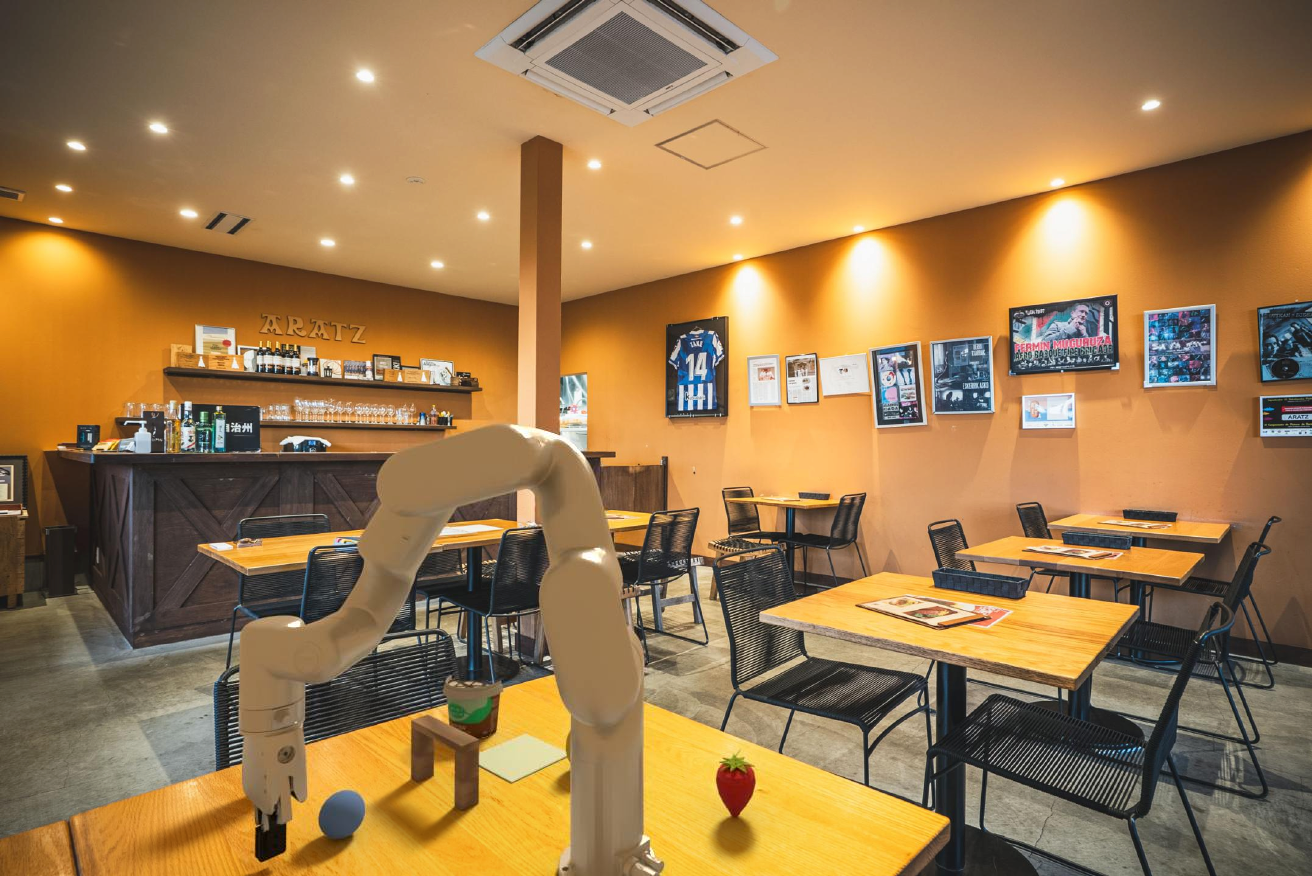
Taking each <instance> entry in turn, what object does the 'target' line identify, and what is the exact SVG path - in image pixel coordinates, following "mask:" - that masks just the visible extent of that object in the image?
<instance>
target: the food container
mask: <svg viewBox="0 0 1312 876" xmlns="http://www.w3.org/2000/svg"><path fill="white" fill-rule="evenodd" d="M503 692H504V685H503V683H502V680H499V681H497V682H494V683H492V684H491V683H486V682H482V681H478V680H456V679H453V678H452V674H450V675H449V676H448V677H446V680H445V682H444V684H443V690H442V693H443V695H444V696H445V697H446V701H447V702H446V703H447V712H448V714H447V715H448V725H450V726H452V727H454V728H456V729H458V730H461V731H463V732H465V733H467V734H469V735H471V736H473V737H475V738H477V739H479V740H480V739H483V738H482V737H485V738H487V737H486V736H488V737H490V736H491V735H490V734H492V735H494V734H496V733H497V732H496V731H497V730H498V721H499V720H498V719H499V711H500V700H501V693H503ZM495 732H496V733H495ZM493 733H494V734H493ZM489 735H490V736H489Z"/></svg>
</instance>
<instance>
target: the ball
mask: <svg viewBox="0 0 1312 876" xmlns="http://www.w3.org/2000/svg"><path fill="white" fill-rule="evenodd" d="M365 815H366V804H365V801H364V798H363V796H361V794H359V793H358V792H357V791H354V790H352V789H351V790H350V789H343V790H339V791H336V792H335V793H333V794H331V795H330V796H328V798H326V800H325V801H324V802H323V804H322V805H321V807H320V810H319V812H318V819H317V820H318V827H319V829H320V831H321V832H322V833H323V835H325V836H326V837H327V838H330V839H332V840H340V839H344V838H347V837H349V836H350V835H352V834H354V833H355V832H356V831H357V830H358V829H359V828H360V826H361V825H362V823H363V821H364V820H365Z"/></svg>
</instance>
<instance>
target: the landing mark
mask: <svg viewBox="0 0 1312 876" xmlns="http://www.w3.org/2000/svg"><path fill="white" fill-rule="evenodd" d="M566 758H567V755H566V750H563V749H561V748H559V747H557V746H554V745H553V744H550V743H548V742H546V741H543V740H542V739H539V738H537V737H535V736H532V735H529V734H528V733H524V734H521V735H519V736H516V737H514V738H512V739H510V740H509V739H508V740H507V741H504V742H502V743H500V744H497V745H495V746H492V747H490V748H487V749H486V750H483V751H479V767H481V768H483V769H485V770H486V771H488V772H489V773H490V772H491V773H492V774H494V775H496V776H497V777H500V778H502V779H504V780H505V781H507V782H509V783H511V784H514V783H515V782H517V781H520V780H522V779H524V778H526V777H528V776H530V775H532V774H534V773H536V772H538V771H541V770H543V769H544V768H547V767H548V766H551V765H553V764H555V763H557V762H560V761H562V760H563V759H566Z"/></svg>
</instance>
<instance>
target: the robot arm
mask: <svg viewBox="0 0 1312 876" xmlns="http://www.w3.org/2000/svg"><path fill="white" fill-rule="evenodd" d="M376 478H377V479H376V484H375V486H376V492H377V497H378V499H379V500H380V503H381V504H380V505H379V506H378V508H377V510H376V512H375V513H374V515H373V516H372V518H371V519H370V520H369V522H368V524H367V525H366V527H365V529H364V530H363V532H362V533H360V536H359V538H358V540H357V543H356V546H357V547H356V548H357V551H358V554H359V555H360V556H361V557H362V559H363V567H362V572H361V574H360V575H359V578H358V580H357V582H356V584H355V585H354V587H353V589H352V590H351V592H350V593H349V595H348V597H347V598H346V599H345V601H344V603H343V604H342V606H341V607H340V608H339V609H338V611H336V612H334V613H331V614H329V615H327V616H324V617H323V618H321V619H319V620H316V621H313V622H311V623H308V624H306V623H305V622H304V620H303V619H301V618H300V617H298V616H293V615H276V616H274V615H273V616H267V617H262V618H258V619H255V620H252V621H250V622H248V623H247V624H245V625H244V627H243V628H242V629H241V632H240V635H239V665H238V666H239V671H238V675H239V676H238V677H239V678H238V679H239V680H238V683H239V684H238V694H239V695H238V733H239V735H240V736H243V742H242V754H241V755H242V758H241V786H242V791H243V793H244V795H245V796H246V797H247V798H248V800H249V801H251V802H252V803H253V813H254V824H255V825H256V827H254V830H255V831H254V857H255V858H256V859H257V861H258V862H260V863H264V862H266V861H269V860H271V859H273V858H275V857H277V856H280V855H282V854H284V853H286V851H287V828H288V827H287V825H288V824H287V823H288V822H291V821H292V820H293V808H292V807H293V806H292V798H294V799H295V801H297V802H298V803H300V804H301V803H305V801H306V800H307V798H308V774H307V773H308V771H307V770H308V769H307V755H306V754H307V753H306V742H305V735H304V728H302V725H301V724H302V723H303V724H304V721H305V720H306V716H305V715H306V684H309V685H310V684H311V685H315V684H316V685H317V684H318V685H319V684H324V683H327V682H331V681H332V680H333V679H336V678H337V677H338V676H340V675H342V673H344V672H346V671H347V670H349V669H350V668H351V667H352V666H354V665H356V664H357V663H358V662H360V661H362V660H364V659H365V658H366V657H367V656H369V655H370V654H371V653H372V652H373V651H374V650H375V649H376V648H377V647H378V646H379V644H380V643H381V641H382V640H383V638H384V637H385V636H386V634H387V633H388V631H389V630H390V628H391V626H392V624H394V621H395V620H396V619H397V618H398V615H399V614H400V612H401V610H402V608H403V607H404V604H405V603H406V601H407V599H408V597H409V594H410V592H411V590H412V588H413V587H412V586H413V585H414V581H415V579H416V575H417V572H418V570H419V568H420V567H421V565H422V563H423V562H424V560H425V558H426V557H427V555H428V554H429V552H430V551H431V549H432V547H433V545H434V544H435V542H436V541H437V539H438V538H439V536H440V534H441V533H442V532H443V530H444V529H445V527H446V525H447V523H448V522H449V520H450V519H451V518H452V516H453V514H454V513H455V512H456V509H457V508H458V507H463V506H467V505H470V504H474V503H477V502H482V501H484V500H489V499H492V498H495V497H500V496H504V495H507V494H511V493H516V492H519V491H523V490H529V491H531V492H532V493H533V494H534V496H535V499H536V501H537V505H538V513H539V521H540V525H541V529H542V533H543V536H544V540H545V544H546V549H547V555H548V560H549V566H548V568H546V569H545V572H544V574H543V576H542V579H541V582H540V587H539V590H538V591H539V593H538V603H539V612H540V616H541V622H542V626H543V631H544V635H545V639H546V644H547V647H548V652H549V656H550V661H551V665H552V669H553V673H554V678H555V679H554V680H555V682H556V686H557V690H558V694H559V696H560V699H561V701H562V703H563V705H564V707H565V709H566V710H567V712H568V713H569V715H570V730H571V749H570V762H569V763H570V764H569V765H570V767H569V768H570V769H569V771H570V773H569V775H570V777H569V778H570V782H569V783H570V799H569V800H570V803H569V806H570V816H569V817H570V819H569V820H570V822H569V823H570V824H569V825H570V827H569V828H570V830H569V831H570V833H569V834H570V838H569V839H570V844H569V845H568V846H567V847H566V848H565V849H564V850H563V851H562V853H561V854H560V857H559V860H558V867H557V869H558V876H661V875H660V874H661V873H662V872H663V871H664V867H665V862H664V861H663V860H661V859H660V858H658V857H656V854H655V851H654V850H653V848H652V846H651V838H650V837H648V836H647V835H645V834H644V832H645V830H644V829H645V828H644V827H645V825H644V824H645V823H644V821H645V820H644V819H645V818H644V817H645V814H644V812H645V810H644V809H645V808H644V806H645V805H644V803H645V802H644V797H645V795H644V794H645V793H644V792H645V791H644V789H645V788H644V782H645V781H644V743H645V741H644V739H645V737H644V736H645V735H644V733H645V728H644V727H645V725H644V721H645V720H644V711H645V708H644V707H645V706H644V705H645V704H644V703H645V701H644V699H645V695H644V694H645V653H644V649H643V644H642V643H641V641H640V638H639V637H638V634H636V633H635V631H634V630H633V629H632V628H631V627H630V626H628V623H627V620H626V616H625V611H624V608H623V607H624V606H623V603H622V598H621V597H622V596H621V594H622V589H623V586H624V583H623V581H624V579H623V577H624V576H623V572H622V569H621V566H620V562H619V560H618V557H617V552H616V549H615V545H614V542H613V537H612V533H611V529H610V524H609V521H608V517H607V514H606V510H605V508H604V505H603V500H602V495H601V491H600V488H599V485H598V481H597V478H596V476H595V473H594V470H593V469H592V466H591V464H590V463H589V461H588V459H587V458H586V456H585V455H584V454H583V453H582V451H580V449H578V447H577V446H575V445H574V444H573V443H572V442H570V441H569V440H568V439H566V438H564V437H563V436H560V435H558V434H555V433H553V432H550V431H546V430H544V429H539V428H536V427H531V426H526V425H520V424H513V423H495V424H490V425H486V426H482V427H479V428H475V429H471V430H468V431H464V432H461V433H457V434H453V435H450V436H447V437H443V438H439V439H435V440H433V441H428V442H425V443H421V444H418V445H413V446H409V447H406V448H404V449H400V450H398V451H396V452H395V453H394V454H392V455H391V456H390V457H388V458H387V459H386V461H384V463H383V464H382V466H381V467H380V469H379V471H378V475H377V477H376Z"/></svg>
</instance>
